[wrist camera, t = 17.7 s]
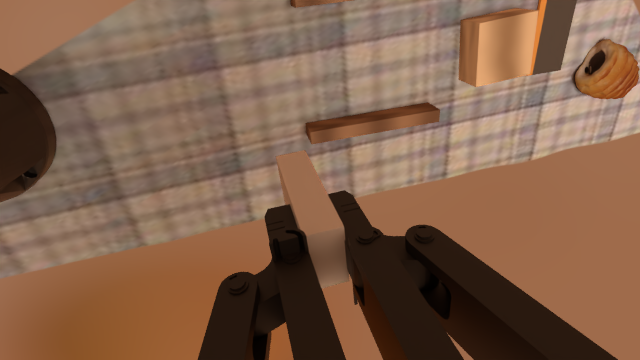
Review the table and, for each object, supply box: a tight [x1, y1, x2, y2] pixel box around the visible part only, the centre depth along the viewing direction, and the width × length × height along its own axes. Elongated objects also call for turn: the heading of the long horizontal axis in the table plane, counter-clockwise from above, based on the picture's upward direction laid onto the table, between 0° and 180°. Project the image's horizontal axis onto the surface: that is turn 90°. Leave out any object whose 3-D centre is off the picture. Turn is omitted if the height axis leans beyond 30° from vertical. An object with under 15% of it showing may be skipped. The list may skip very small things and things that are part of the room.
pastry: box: [575, 39, 639, 99], centre depth 49 cm, size 9×7×4 cm
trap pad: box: [526, 0, 577, 76], centre depth 45 cm, size 5×10×1 cm, turn 6°
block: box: [459, 8, 538, 87], centre depth 43 cm, size 7×7×4 cm
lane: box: [291, 0, 440, 144], centre depth 41 cm, size 16×16×3 cm
